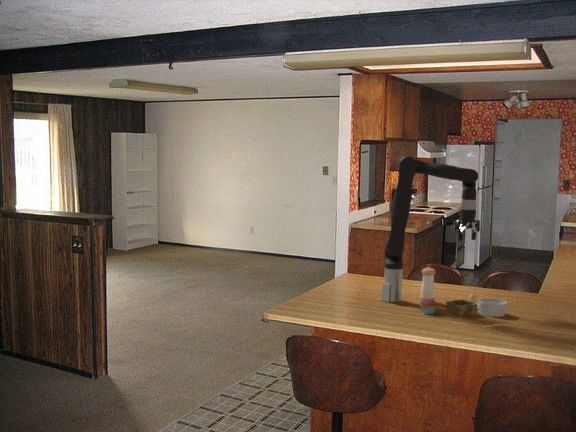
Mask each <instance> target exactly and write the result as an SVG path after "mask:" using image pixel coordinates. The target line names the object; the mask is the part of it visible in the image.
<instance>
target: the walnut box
mask: <svg viewBox="0 0 576 432" xmlns="http://www.w3.org/2000/svg"><path fill="white" fill-rule="evenodd" d="M477 304H478V303H477ZM477 304H475V303H472V302H469V301H468V300H466V299H463V298H462V299H455V300H446V304H445V306H446V307H445V312H446V313H448V314H451V315H453V316H455V317H456V316H457V317H460V318H463V317H471V316H477V315H478V309H477Z"/></svg>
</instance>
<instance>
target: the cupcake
mask: <svg viewBox="0 0 576 432" xmlns="http://www.w3.org/2000/svg"><path fill="white" fill-rule="evenodd" d="M419 307H420V308H421V309H422V310H421V311H422V314H425V315H433V314H435V312H436V310H437V309H438V308H439V305H438V302H436V300H435V301H434V300H430V299H428V297H427V291H426V299H425V300H423V301H421V303H420V302H419Z"/></svg>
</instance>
